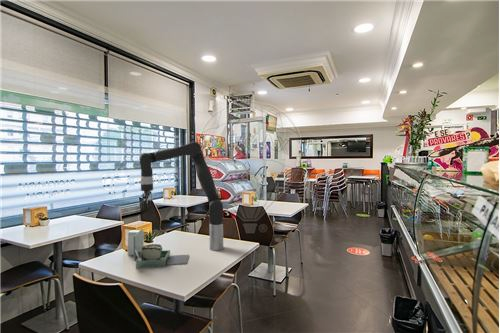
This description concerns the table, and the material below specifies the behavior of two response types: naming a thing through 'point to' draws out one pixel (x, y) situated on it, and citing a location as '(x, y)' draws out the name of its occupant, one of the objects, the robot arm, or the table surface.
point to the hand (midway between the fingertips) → (147, 207)
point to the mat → (178, 259)
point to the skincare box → (132, 241)
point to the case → (138, 252)
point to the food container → (152, 252)
